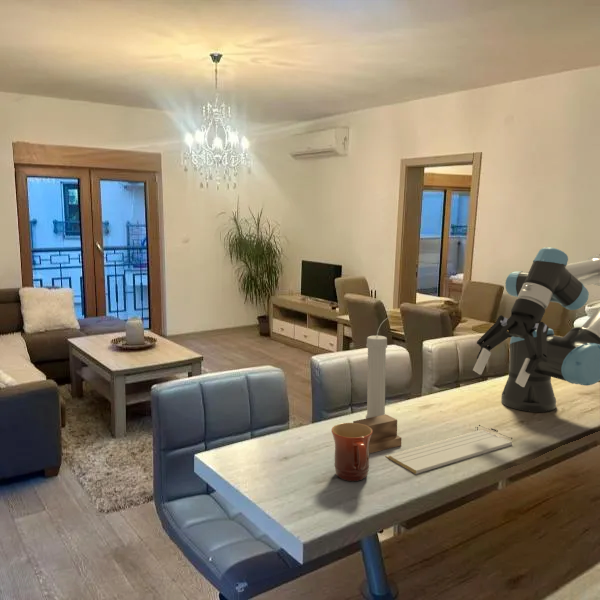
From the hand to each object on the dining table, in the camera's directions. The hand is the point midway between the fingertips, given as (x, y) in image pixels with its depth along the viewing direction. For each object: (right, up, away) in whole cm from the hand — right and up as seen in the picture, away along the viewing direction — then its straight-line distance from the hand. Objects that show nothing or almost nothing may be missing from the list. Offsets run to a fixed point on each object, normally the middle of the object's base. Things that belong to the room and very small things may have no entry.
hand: (497, 378), depth 135 cm
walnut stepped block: (-31, -16, -2) cm, 35 cm away
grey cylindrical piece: (-29, -14, +11) cm, 34 cm away
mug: (-38, -19, -20) cm, 47 cm away
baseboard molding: (-14, -17, -5) cm, 23 cm away
